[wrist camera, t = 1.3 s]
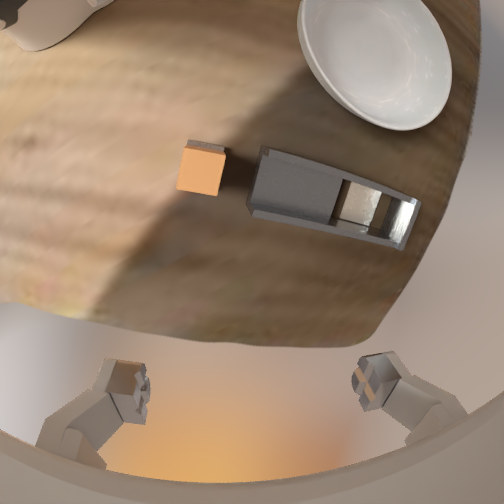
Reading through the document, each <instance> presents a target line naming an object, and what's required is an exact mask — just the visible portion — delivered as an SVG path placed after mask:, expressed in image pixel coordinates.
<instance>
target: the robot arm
mask: <svg viewBox="0 0 504 504" xmlns="http://www.w3.org/2000/svg"><path fill="white" fill-rule="evenodd" d="M113 1H114V0H0V32H2V33H4V34H6V35H7V36H9V37H10V38H12V39H13V40H14V41H15V42H16V43H17V44H18V45H19V46H20V47H21V48H22V49H24V50H27V51H38V50H42V49H45V48H48V47H50V46H52V45H54V44H56V43H58V42H59V41H61V40H63V39H64V38H65V37H67V36H68V35H69V34H71V33H72V32H73V31H74V30H76V29H77V28H78V27H79V26H80V25H81V24H82V23H83V22H84V21H85V20H86V19H87V18H88V17H89V16H90V15H91V14H92V13H94V12H95V11H97V10H99V9H101V8H103V7H105V6H106V5H108V4H110V3H111V2H113ZM357 364H358V365H359V367H358V368H357V369H356V370H355V371H354V372H353V375H352V387H353V389H354V392H355V393H357V394H358V395H360V397H359V402H360V404H361V406H362V408H363V410H364V412H366V411H371V410H375V409H379V408H382V410H384V411H385V412H386V413H388V414H389V415H390V416H392V417H393V418H394V419H396V420H397V421H398V422H400V423H401V424H402V425H404V426H405V427H406V428H408V429H409V430H410V431H412V432H411V433H410V434H409V435H408V437H407V438H406V439H405V443H406V445H407V446H405V447H402V448H400V449H397V450H395V451H392V452H389V453H387V454H384V455H381V456H378V457H375V458H372V459H369V460H366V461H362V462H359V463H356V464H352V465H349V466H345V467H341V468H337V469H333V470H329V471H324V472H319V473H314V474H310V475H304V476H298V477H291V478H284V479H276V480H267V481H255V482H238V483H198V482H181V481H169V480H160V479H152V478H145V477H139V476H133V475H128V474H122V473H118V472H113V471H109V470H106V465H107V464H106V463H105V461H104V460H103V459H102V458H101V457H100V456H99V454H98V453H97V451H98V449H99V448H100V447H101V446H102V445H103V444H104V443H105V442H106V441H107V440H108V439H109V438H110V437H111V436H112V435H113V434H114V433H115V432H116V431H117V430H118V428H119V427H120V426H121V425H122V424H123V422H127V423H134V424H144V425H145V422H146V416H147V408H146V405H145V404H147V403H148V402H149V398H150V382H149V378H148V377H146V375H145V374H146V367H145V364H144V363H139V362H131V361H124V360H116V359H110V358H106V359H104V361H103V362H102V365H101V367H100V369H99V372H98V374H97V377H96V380H95V382H94V385H93V388H92V390H91V389H88V390H86V391H85V392H83V393H82V394H80V395H79V396H78V397H76V398H75V399H74V400H72V401H71V402H69V403H68V404H66V405H65V406H63V407H62V408H61V409H59V410H58V411H57V412H55V413H53V414H52V415H51V416H49V417H48V418H46V419H45V422H44V424H43V427H42V429H41V432H40V435H39V437H38V440H37V443H36V445H35V446H33V445H31V444H29V443H27V442H24V441H22V440H20V439H18V438H16V437H14V436H12V435H10V434H8V433H6V432H4V431H2V430H1V429H0V504H504V391H503V392H502V393H500V394H499V395H498V396H496V397H495V398H493V399H492V400H490V401H489V402H487V403H486V404H485V405H483V406H481V407H480V408H478V409H477V410H475V411H474V412H472V413H470V414H469V415H468V414H467V412H466V411H465V409H464V408H463V406H462V405H461V404H460V402H459V401H458V399H457V398H456V397H455V395H453V394H450V393H449V392H447V391H445V390H443V389H441V388H439V387H437V386H435V385H433V384H431V383H429V382H427V381H425V380H423V379H421V378H419V377H417V376H415V375H413V376H412V375H411V374H410V372H409V371H408V370H407V368H406V367H405V365H404V364H403V363H402V361H401V360H400V358H399V357H398V356H397V355H396V353H395V352H394V351H389V352H384V353H378V354H373V355H367V356H362V357H361V358H360V359H359V361H358V363H357Z"/></svg>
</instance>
